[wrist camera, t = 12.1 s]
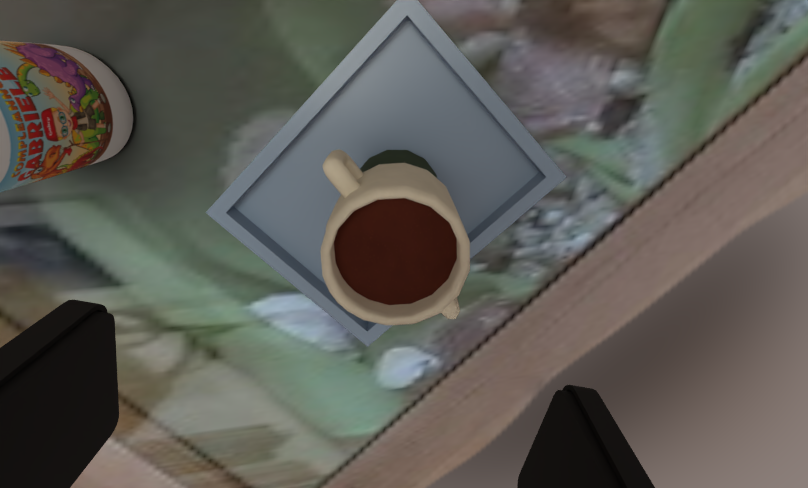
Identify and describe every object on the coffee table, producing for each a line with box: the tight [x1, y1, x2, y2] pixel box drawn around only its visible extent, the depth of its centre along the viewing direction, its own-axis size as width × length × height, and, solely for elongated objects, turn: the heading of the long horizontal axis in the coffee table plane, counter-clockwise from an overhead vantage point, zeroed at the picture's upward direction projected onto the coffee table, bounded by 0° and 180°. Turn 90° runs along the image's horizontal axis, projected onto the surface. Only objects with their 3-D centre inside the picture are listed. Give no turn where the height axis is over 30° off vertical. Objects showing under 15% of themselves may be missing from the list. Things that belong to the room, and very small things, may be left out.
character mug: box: [320, 149, 470, 326], centre depth 26 cm, size 11×7×13 cm, turn 37°
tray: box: [206, 0, 566, 347], centre depth 32 cm, size 20×16×2 cm
